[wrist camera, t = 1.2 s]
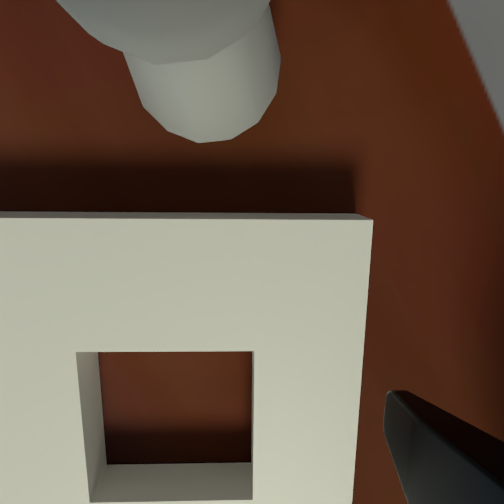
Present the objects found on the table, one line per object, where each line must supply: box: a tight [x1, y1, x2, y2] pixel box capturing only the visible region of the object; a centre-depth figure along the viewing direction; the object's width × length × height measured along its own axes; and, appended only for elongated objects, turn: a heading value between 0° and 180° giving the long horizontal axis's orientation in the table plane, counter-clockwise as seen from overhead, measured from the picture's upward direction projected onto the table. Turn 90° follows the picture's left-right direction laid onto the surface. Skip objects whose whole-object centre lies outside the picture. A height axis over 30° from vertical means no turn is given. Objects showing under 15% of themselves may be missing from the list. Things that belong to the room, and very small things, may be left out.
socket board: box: [0, 211, 373, 504], centre depth 19 cm, size 18×20×2 cm
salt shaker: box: [56, 0, 281, 143], centre depth 11 cm, size 6×6×13 cm
